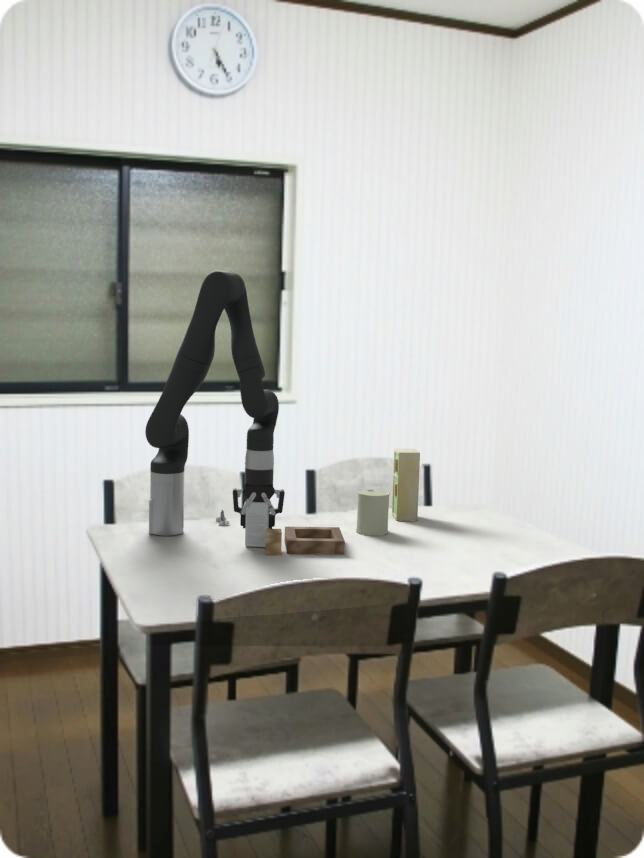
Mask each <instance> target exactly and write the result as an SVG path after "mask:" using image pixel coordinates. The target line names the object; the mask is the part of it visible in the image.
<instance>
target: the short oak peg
mask: <svg viewBox="0 0 644 858" xmlns="http://www.w3.org/2000/svg"><path fill="white" fill-rule="evenodd" d="M282 534H283V532H282V528H272V529H266V541H265V547H264V549H265V551H264V554H265V556H282Z"/></svg>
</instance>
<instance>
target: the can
mask: <svg viewBox="0 0 644 858" xmlns="http://www.w3.org/2000/svg"><path fill="white" fill-rule="evenodd" d="M389 504H390V492H389V491H387V490H382V489H374V488H373V489H370V488H368V489H360V490H358V491H357V513H356V516H357V517H356V528H355V533H357V532H358V533H357V534H359V533H360V535H362V534H364V536H369V535H371V536H372V537H378V536H380V535H381V536H385V534H386V535H387V534H388V533H389V530H388V529H389V506H390V505H389ZM371 536H370V537H371ZM381 536H380V537H381Z"/></svg>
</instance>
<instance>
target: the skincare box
mask: <svg viewBox="0 0 644 858" xmlns="http://www.w3.org/2000/svg"><path fill="white" fill-rule="evenodd" d="M269 501H271V499H270V500H269ZM248 504H249V503H248ZM268 504H269V503H265V502H252V503H251V505H250V506H249V508H248V507H246V523H245V528H244V530H245V535H244V537H245V538H244V546H245V547H251V548H253V547H254V548H255V547H256V548H265V541H266V529H270V528H269V525H270V514H271V513H270V511H269V508H268Z"/></svg>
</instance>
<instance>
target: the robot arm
mask: <svg viewBox="0 0 644 858" xmlns="http://www.w3.org/2000/svg"><path fill="white" fill-rule="evenodd" d="M246 288H247V287H246V284H245V281H244V279H243V278H242V276H241V275H239V274H238V273H236V272H234V271H228V270H227V271H226V270H213V271H211V272H210V273H207V275H206V276H205V277H204V279H203V280H202V283H201V285H200V288H199V293H198V296H197V300H196V304H195V307H194V310H193V314H192V317H191V320H190V322H189V324H188V327H187V329H186V332H185V334H184V338H183V340H182V342H181V344H180V346H179V348H178V351H177V354H176V357H175V359H174V360H173V361H174V362H173V365H172V368H171V371H170V373H169V375H168V377H167V380H166V382H165V385H164V387H163V390H162V392H161V394H160V397H159V399H158V401H157V402H156V405H155V407H154V409H153V410H152V413H151V414H150V415H149V418H148V420H147V422H146V426H145V431H144V432H145V439H146V440H147V443H148V444H149V445H150V446H151V447H153V448H156V449H158V452H157V453H156V455H155V457H154V458H152V460H151V461H150V467H149V468H150V470H149V471H150V475H149V477H150V478H149V479H150V480H149V481H150V484H149V485H150V486H149V488H150V491H149V496H150V497H149V500H148V535H155V536H163V537H164V536H166V537H167V536H178V535H181V534H183V533H184V528H185V527H184V526H185V525H184V524H185V523H184V522H185V521H184V519H185V514H184V513H185V511H184V510H185V467H186V463H187V461H188V455H189V439H190V437H189V436H190V433H189V431H190V429H189V424H188V421H187V420H186V418H185V416H183V414H182V412H183V409H184V407H185V406H186V404H187V403H188V401H189V400H190V398H192V396H193V395H194V394H195V393H196V391H198V389H199V388H200V387H201V385H202V384H203V382H204V381H205V380H206V377H207V375H208V373H209V370H210V368H211V366H212V363H213V360H214V357H215V349H216V347H215V346H216V329H217V326H218V323H219V320H220V318H221V316H222V314H223V312H224V311H225V314H226V316H227V318H228V321H229V327H230V334H231V335H230V346H231V347H230V349H231V356H232V360H233V363H234V367H235V370H236V373H237V376H238V379H239V391H240V400H241V404H242V405H241V406H242V408H243V410H244V412H245V413H246V415H248V416H249V417H250V418H252V419H253V421H252V425H251V426H250V427H249V428H248V429H247V432H246V451H245V456H244V457H245V458H244V460H245V461H244V484H243V487H242V488H235V487H234V488H232V501H233V502H232V504H233V512H235V513H238V514H240V515H239V516H240V522H239V523H240V527H242V529H245V523H246V507H248V508H249V506H250V505H251V503H252V502H265V503H269V504H268V508H269V511H270V525H269V528H270V529H273V528H274V527H275V525H276V515H277V514H278V515H279V514H282V513H283V509H284V502H285V494H286V493H285V492H286V491H285V490H284V489H282V488H281V489H275V488H274V471H275V470H274V469H275V467H274V466H275V454H274V442H275V441H274V433H275V429H276V427H277V420H278V417H279V416H278V415H279V410H280V403H279V399H278V397H277V395H276V393H275V392H273V391H272V390H270V389H264V385H263V379H264V378H265V377H266V372H265V371H266V370H265V368H264V364H263V361H262V360H263V359H262V358H261V357H262V356H261V354H260V352H259V349H258V345H257V342H256V337H255V334H254V329H253V322H252V318H251V312H250V307H249V300H248V295H247V293H248V292H247V289H246ZM242 494H243V495H244V497H245V498H246V499H245V501H244V504H243V506H242V507H239V498H240V497H241V495H242ZM274 495H276V498H277V499H278V501H277V502H278V503H277V507H274V506H273V503H272V501H271V499H272V497H273V496H274ZM269 500H270V501H269ZM248 503H249V504H248Z"/></svg>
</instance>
